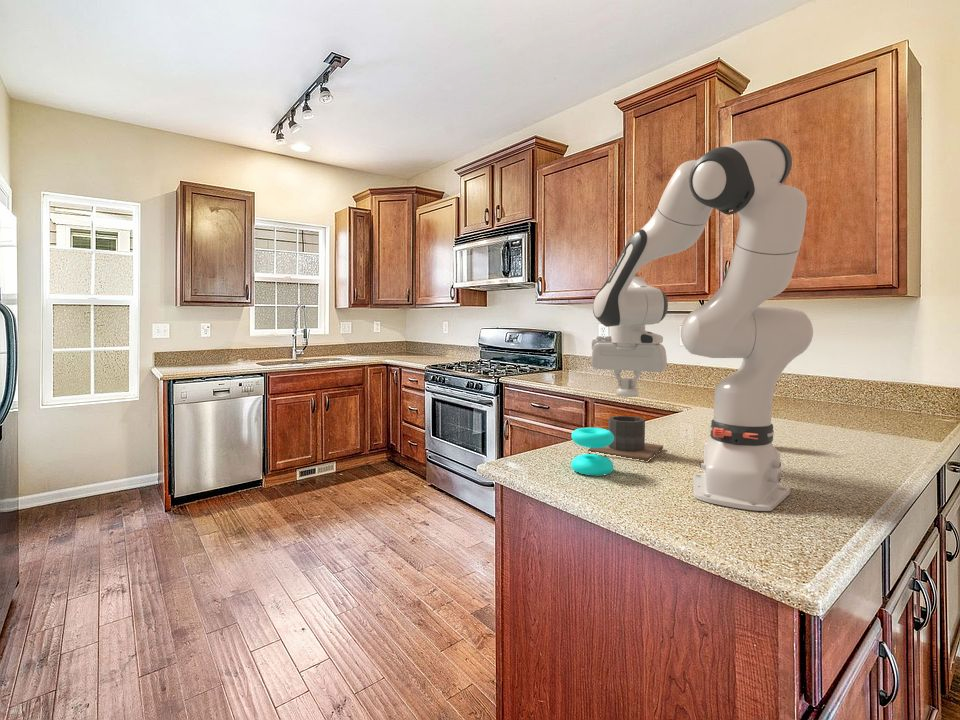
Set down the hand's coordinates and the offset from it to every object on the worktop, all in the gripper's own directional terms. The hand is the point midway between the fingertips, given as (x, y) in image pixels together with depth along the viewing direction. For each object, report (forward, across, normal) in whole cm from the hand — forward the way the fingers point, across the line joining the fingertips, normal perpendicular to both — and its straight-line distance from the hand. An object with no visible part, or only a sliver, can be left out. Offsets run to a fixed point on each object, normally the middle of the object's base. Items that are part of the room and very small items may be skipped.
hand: (627, 386), depth 137 cm
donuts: (+18, -1, -23) cm, 29 cm away
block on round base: (+2, 0, 0) cm, 2 cm away
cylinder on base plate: (+18, 0, 0) cm, 18 cm away
